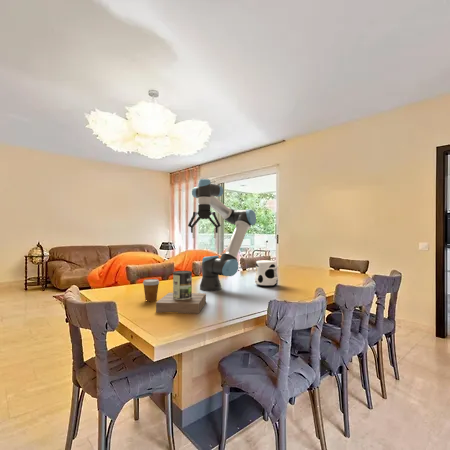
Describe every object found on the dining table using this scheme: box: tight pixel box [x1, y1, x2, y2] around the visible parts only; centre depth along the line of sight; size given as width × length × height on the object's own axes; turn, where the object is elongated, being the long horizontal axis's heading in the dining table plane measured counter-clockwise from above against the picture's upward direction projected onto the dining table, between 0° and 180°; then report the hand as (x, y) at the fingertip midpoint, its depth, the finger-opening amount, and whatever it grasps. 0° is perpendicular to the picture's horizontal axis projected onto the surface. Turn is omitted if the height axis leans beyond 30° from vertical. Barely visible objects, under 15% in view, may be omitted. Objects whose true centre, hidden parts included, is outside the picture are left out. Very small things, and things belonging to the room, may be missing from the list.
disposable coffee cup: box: [142, 278, 160, 302], centre depth 166 cm, size 10×10×12 cm
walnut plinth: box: [155, 292, 207, 314], centre depth 152 cm, size 22×22×5 cm
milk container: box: [254, 259, 279, 288], centre depth 209 cm, size 17×17×18 cm
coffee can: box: [172, 270, 193, 300], centre depth 153 cm, size 10×10×14 cm
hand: (204, 238), depth 174 cm, fingers open, 13 cm apart
